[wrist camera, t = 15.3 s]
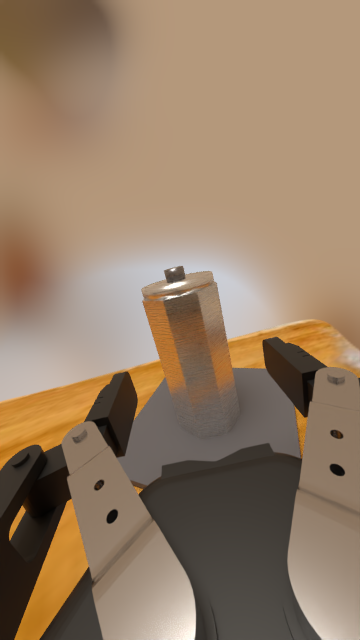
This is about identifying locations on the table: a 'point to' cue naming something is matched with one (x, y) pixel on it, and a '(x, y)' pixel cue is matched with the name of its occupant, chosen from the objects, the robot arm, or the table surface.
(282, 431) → the rubber mat
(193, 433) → the steel canister
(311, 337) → the table surface
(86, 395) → the table surface
